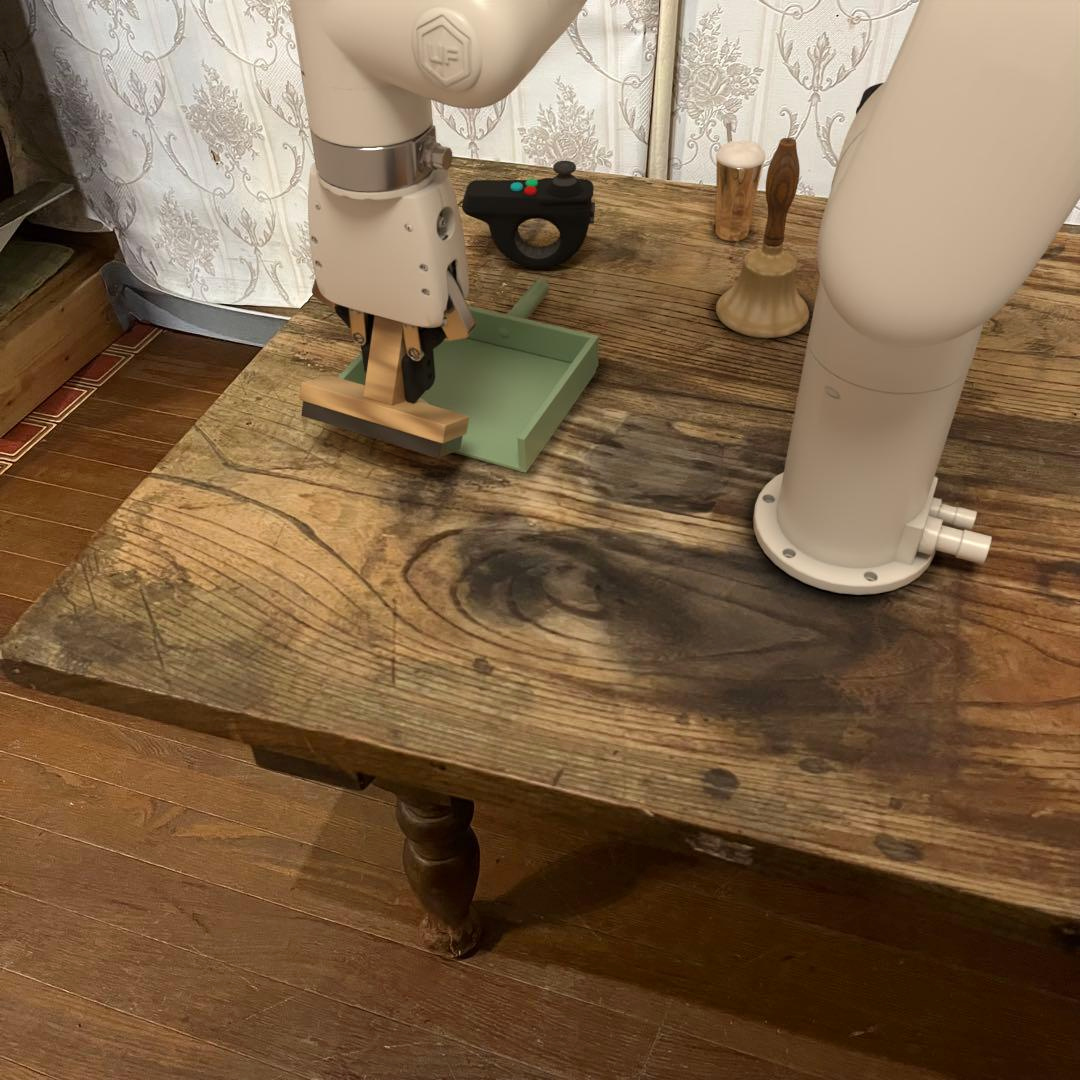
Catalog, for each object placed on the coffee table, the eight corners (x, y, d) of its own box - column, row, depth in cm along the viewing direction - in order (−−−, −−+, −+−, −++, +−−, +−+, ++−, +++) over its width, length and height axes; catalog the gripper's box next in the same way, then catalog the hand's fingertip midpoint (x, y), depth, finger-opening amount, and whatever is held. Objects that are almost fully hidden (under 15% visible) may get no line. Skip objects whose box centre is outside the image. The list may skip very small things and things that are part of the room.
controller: (593, 276, 98) (594, 176, 91) (465, 274, 99) (456, 175, 92) (595, 253, 101) (596, 154, 94) (470, 251, 102) (462, 153, 95)
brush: (464, 449, 77) (483, 335, 74) (440, 460, 73) (459, 340, 70) (326, 407, 80) (340, 297, 77) (297, 415, 77) (310, 300, 74)
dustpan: (526, 473, 79) (524, 439, 76) (334, 419, 84) (327, 386, 82) (631, 320, 93) (632, 288, 91) (462, 283, 98) (459, 251, 96)
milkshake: (738, 215, 106) (750, 118, 99) (762, 240, 102) (776, 141, 95) (698, 223, 105) (706, 126, 98) (720, 248, 101) (731, 149, 94)
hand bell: (828, 317, 92) (863, 143, 81) (759, 350, 89) (785, 172, 78) (764, 278, 97) (788, 108, 86) (696, 307, 94) (712, 135, 83)
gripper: (516, 150, 65) (519, 386, 78) (299, 104, 69) (336, 335, 82) (461, 203, 60) (474, 446, 73) (231, 150, 64) (282, 387, 78)
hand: (401, 385), depth 78 cm, fingers closed on brush, 2 cm apart
